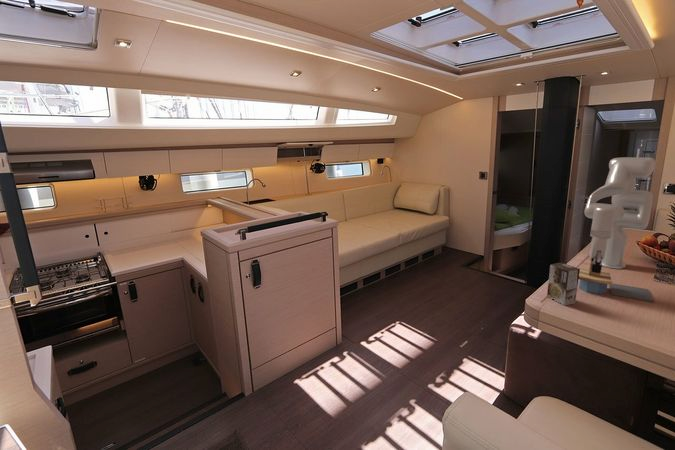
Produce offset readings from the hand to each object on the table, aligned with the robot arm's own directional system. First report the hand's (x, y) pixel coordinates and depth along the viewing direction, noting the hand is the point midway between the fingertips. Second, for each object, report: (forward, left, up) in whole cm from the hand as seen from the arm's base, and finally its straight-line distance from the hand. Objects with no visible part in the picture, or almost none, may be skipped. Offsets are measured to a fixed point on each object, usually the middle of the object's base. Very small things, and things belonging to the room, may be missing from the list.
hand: (595, 269), depth 151 cm
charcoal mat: (-4, +14, -10) cm, 18 cm away
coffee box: (+20, -12, -11) cm, 25 cm away
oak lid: (0, 0, -4) cm, 4 cm away
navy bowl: (0, 0, -10) cm, 10 cm away
